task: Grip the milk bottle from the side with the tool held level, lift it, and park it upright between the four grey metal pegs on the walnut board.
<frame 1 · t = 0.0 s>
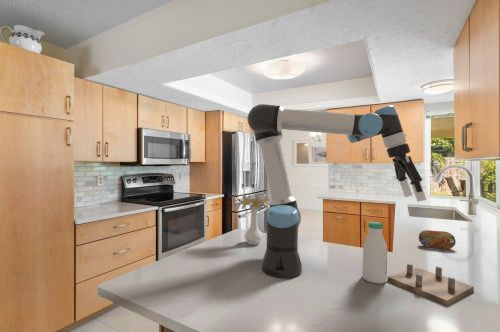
hand: (414, 198, 101), 28 cm above the countertop, tool tilted 20°, fingers open, 13 cm apart
milk bottle: (374, 279, 93), on the countertop
tin: (436, 247, 131), on the countertop
peg board: (428, 285, 89), on the countertop
flower vase: (252, 243, 132), on the countertop
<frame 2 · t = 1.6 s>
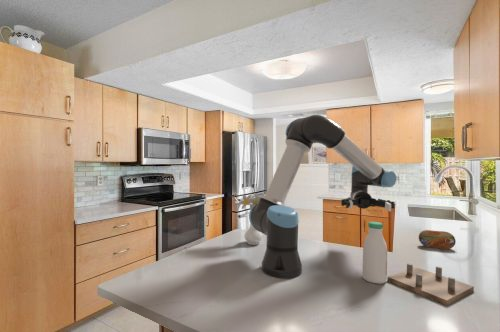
hand: (370, 206, 102), 24 cm above the countertop, tool horizontal, fingers open, 13 cm apart
nothing on the countertop moved.
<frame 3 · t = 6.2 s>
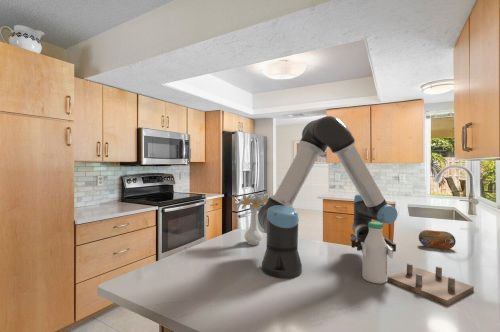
hand: (378, 252, 88), 11 cm above the countertop, tool horizontal, fingers closed on milk bottle, 7 cm apart
milk bottle: (374, 279, 93), on the countertop, touching gripper
everything else where it was.
when the fingers open (14 cm above the countertop, at t = 10.9 s): milk bottle drops 1 cm, resting on peg board.
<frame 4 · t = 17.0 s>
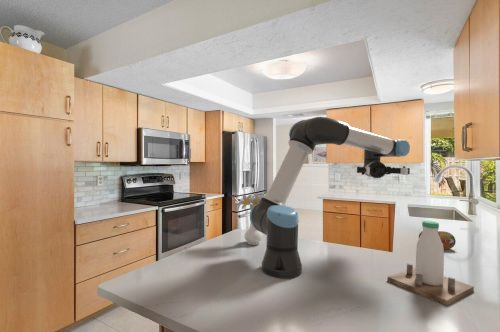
hand: (387, 171, 104), 38 cm above the countertop, tool horizontal, fingers open, 13 cm apart
milk bottle: (428, 281, 89), point 1 cm above the countertop, touching peg board
everything else where it was.
at the end: milk bottle 0.1 cm off-centre on the peg board, point 1.3 cm above the peg board's base; milk bottle tilted 0°; the gripper is holding nothing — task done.
